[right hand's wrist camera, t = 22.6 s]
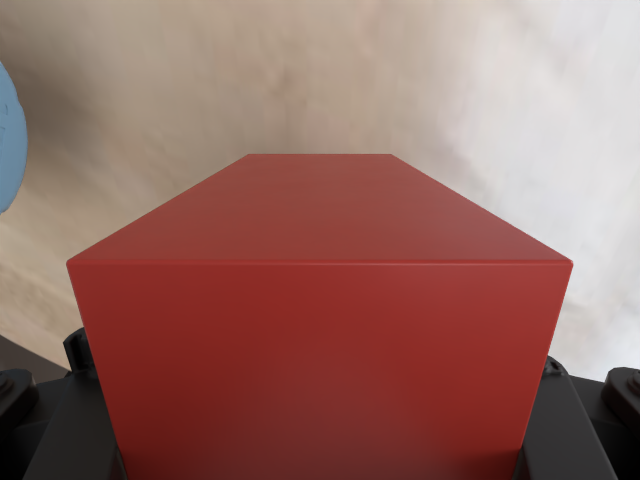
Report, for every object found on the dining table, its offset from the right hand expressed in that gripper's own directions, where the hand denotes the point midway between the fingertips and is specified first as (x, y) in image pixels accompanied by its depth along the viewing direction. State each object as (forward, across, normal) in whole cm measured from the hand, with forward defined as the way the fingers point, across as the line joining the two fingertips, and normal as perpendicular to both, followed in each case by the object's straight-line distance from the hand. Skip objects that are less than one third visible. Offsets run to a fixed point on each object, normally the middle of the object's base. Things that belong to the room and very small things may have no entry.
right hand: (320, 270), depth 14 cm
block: (+3, 0, 0) cm, 3 cm away
